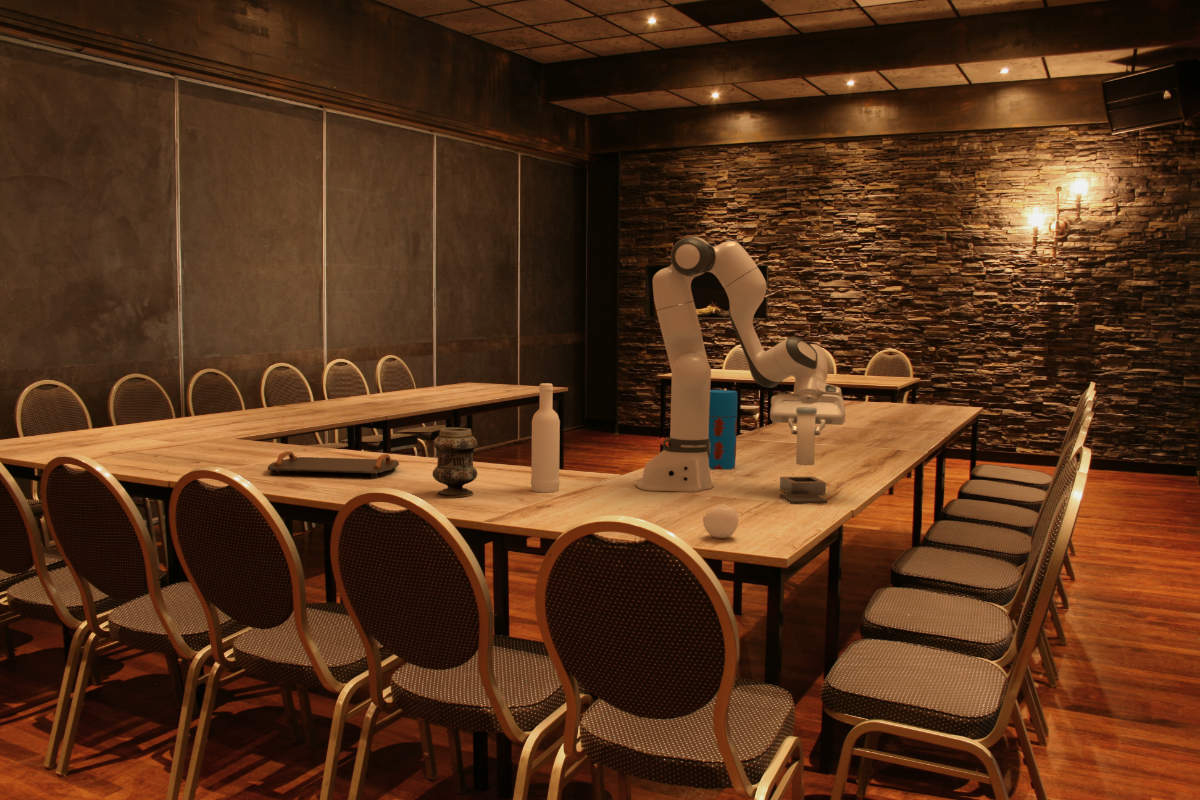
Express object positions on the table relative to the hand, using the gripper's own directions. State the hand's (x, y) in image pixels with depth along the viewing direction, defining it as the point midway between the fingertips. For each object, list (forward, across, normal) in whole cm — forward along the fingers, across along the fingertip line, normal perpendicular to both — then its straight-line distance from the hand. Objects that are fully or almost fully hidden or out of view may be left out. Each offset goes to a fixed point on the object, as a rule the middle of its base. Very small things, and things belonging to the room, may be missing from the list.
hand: (805, 433), depth 263 cm
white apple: (+50, -14, -24) cm, 57 cm away
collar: (+4, -2, +22) cm, 23 cm away
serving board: (+16, -141, +8) cm, 142 cm away
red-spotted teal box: (-21, -31, +47) cm, 60 cm away
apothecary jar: (+31, -92, -6) cm, 97 cm away
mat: (+13, 0, +13) cm, 18 cm away
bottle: (+20, -71, +5) cm, 74 cm away
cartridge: (+6, 0, +6) cm, 8 cm away
